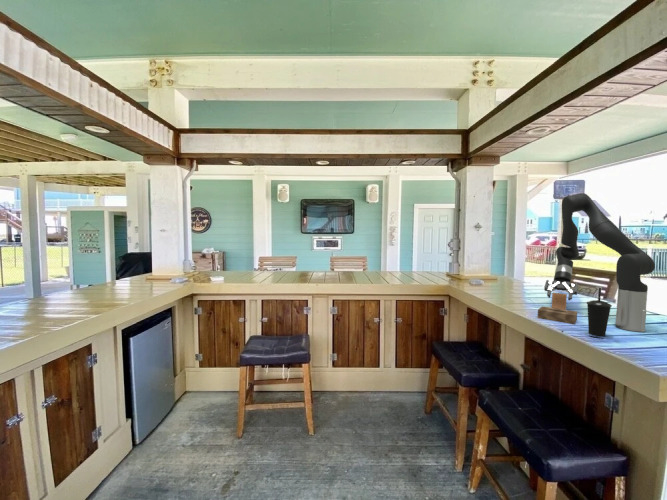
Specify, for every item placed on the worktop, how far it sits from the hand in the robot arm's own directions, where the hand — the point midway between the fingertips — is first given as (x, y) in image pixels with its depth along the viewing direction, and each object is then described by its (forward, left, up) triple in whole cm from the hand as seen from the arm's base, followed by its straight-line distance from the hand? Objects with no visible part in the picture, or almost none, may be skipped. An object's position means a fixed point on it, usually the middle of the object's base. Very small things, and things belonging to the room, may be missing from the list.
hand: (558, 298), depth 160 cm
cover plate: (0, -1, -8) cm, 8 cm away
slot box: (-2, +21, -8) cm, 22 cm away
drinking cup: (-17, +37, -8) cm, 41 cm away
